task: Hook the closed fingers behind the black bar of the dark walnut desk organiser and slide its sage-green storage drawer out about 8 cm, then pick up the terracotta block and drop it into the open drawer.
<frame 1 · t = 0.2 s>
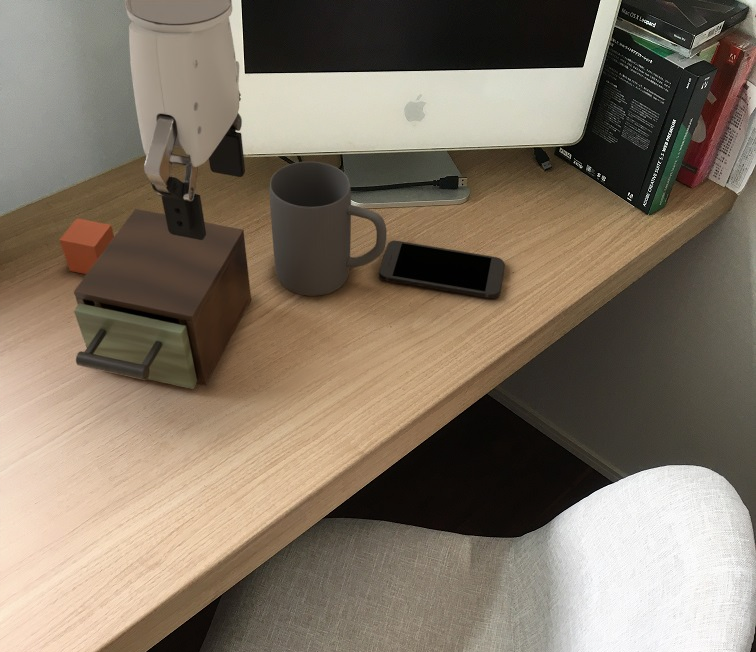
hand: (208, 203, 69), 20 cm above the table, tool pointing down, fingers open, 9 cm apart
mug: (329, 278, 96), on the table
drawer: (152, 323, 83), point 5 cm above the table, slide at 0.5 cm
cabinet: (177, 329, 89), on the table
smartphone: (441, 272, 97), on the table
block: (94, 263, 95), on the table
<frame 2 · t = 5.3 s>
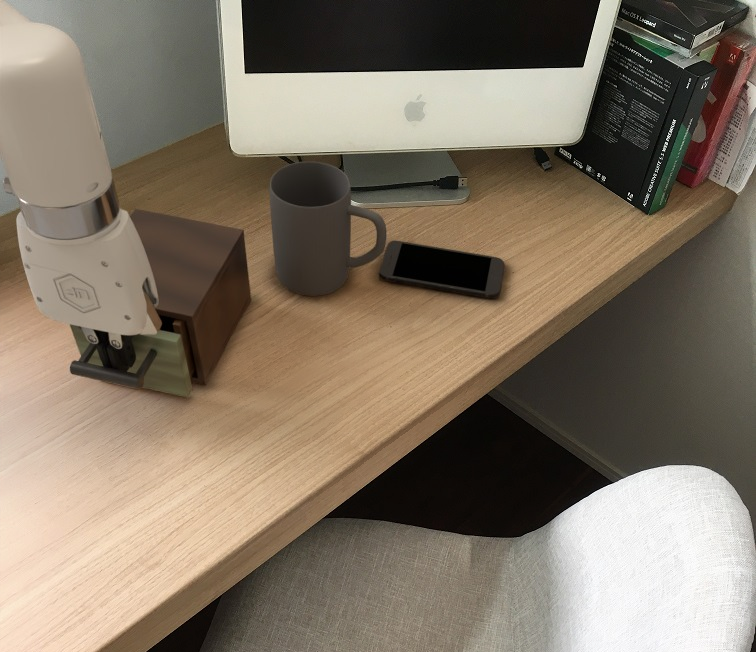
hand: (121, 367, 78), 6 cm above the table, tool pointing down, fingers closed
drawer: (147, 331, 82), point 5 cm above the table, slide at 1.8 cm, touching gripper
everything else where it was.
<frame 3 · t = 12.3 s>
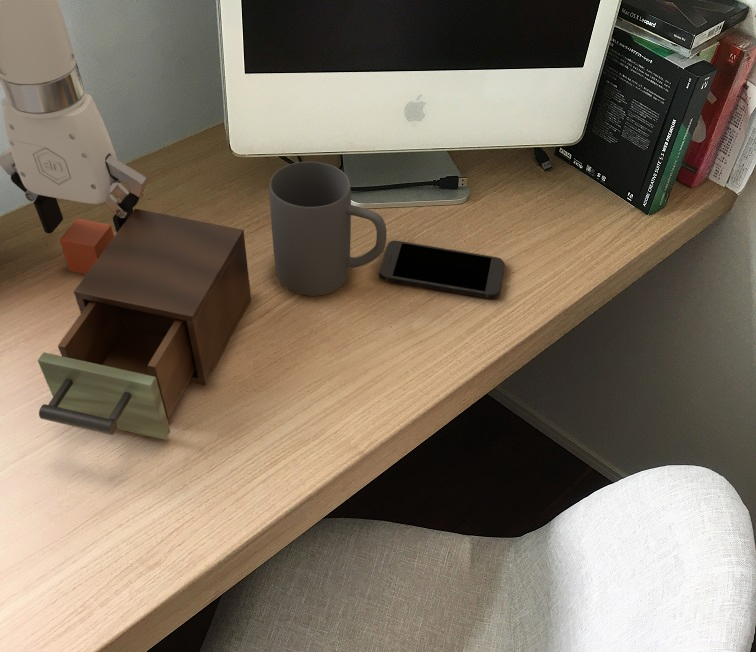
hand: (92, 233, 92), 4 cm above the table, tool pointing down, fingers open, 9 cm apart
drawer: (122, 371, 78), point 5 cm above the table, slide at 7.8 cm
everything else where it was.
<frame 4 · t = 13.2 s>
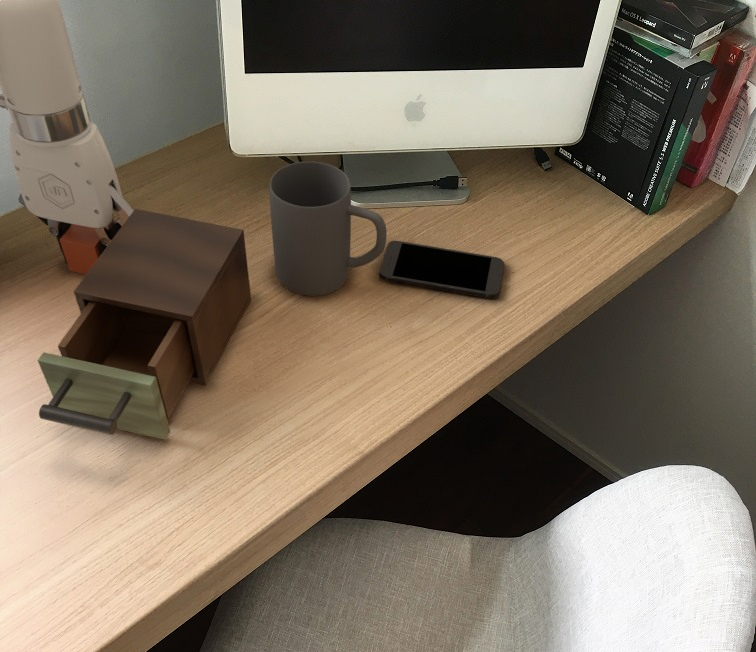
hand: (94, 260, 95), 0 cm above the table, tool pointing down, fingers closed on block, 4 cm apart
block: (94, 263, 95), on the table, touching gripper
everything else where it was.
when the fingers open (8 cm above the table, at t = 20.1 s): block stays where it is, resting on drawer.
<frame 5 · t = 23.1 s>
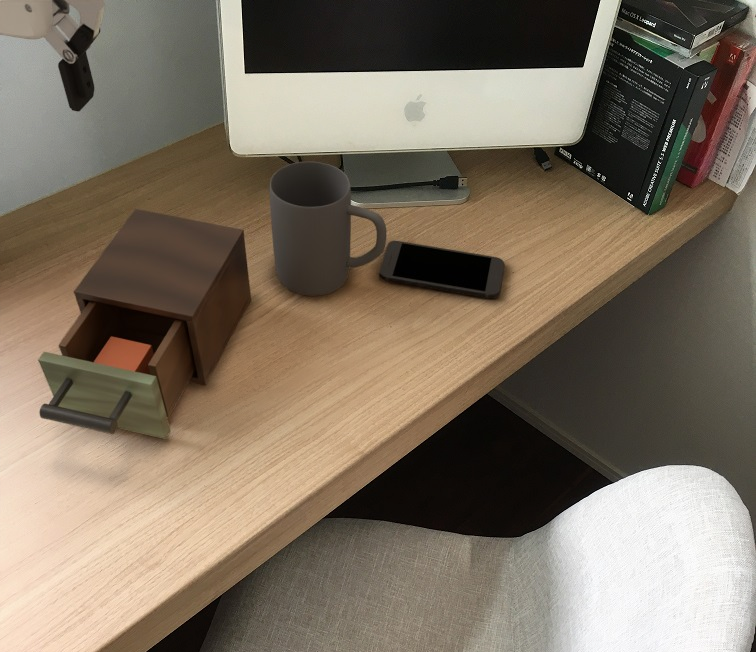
hand: (30, 93, 68), 26 cm above the table, tool pointing down, fingers open, 9 cm apart
drawer: (123, 370, 79), point 5 cm above the table, slide at 7.7 cm, touching block
block: (131, 386, 81), point 2 cm above the table, touching drawer
everything else where it was.
at the end: drawer slide at 7.7 cm; block inside the target area in the drawer (2.8 cm from its centre), point 2.0 cm above the cabinet's base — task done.
